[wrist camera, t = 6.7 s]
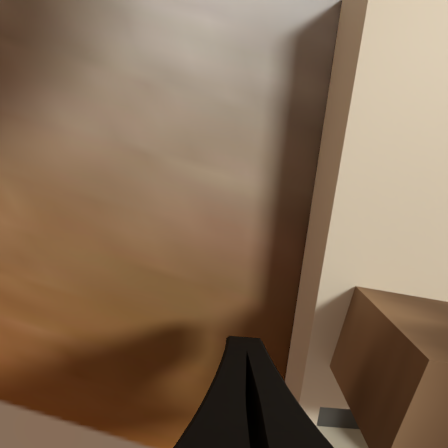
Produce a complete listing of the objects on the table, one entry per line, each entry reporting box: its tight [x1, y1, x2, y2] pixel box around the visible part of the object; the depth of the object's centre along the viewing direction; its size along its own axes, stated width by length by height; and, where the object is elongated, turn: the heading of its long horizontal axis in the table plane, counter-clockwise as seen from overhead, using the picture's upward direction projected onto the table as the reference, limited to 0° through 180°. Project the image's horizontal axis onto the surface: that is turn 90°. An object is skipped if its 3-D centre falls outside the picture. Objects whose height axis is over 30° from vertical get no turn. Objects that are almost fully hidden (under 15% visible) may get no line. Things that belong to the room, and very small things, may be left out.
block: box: [330, 286, 448, 448], centre depth 9 cm, size 4×4×4 cm
